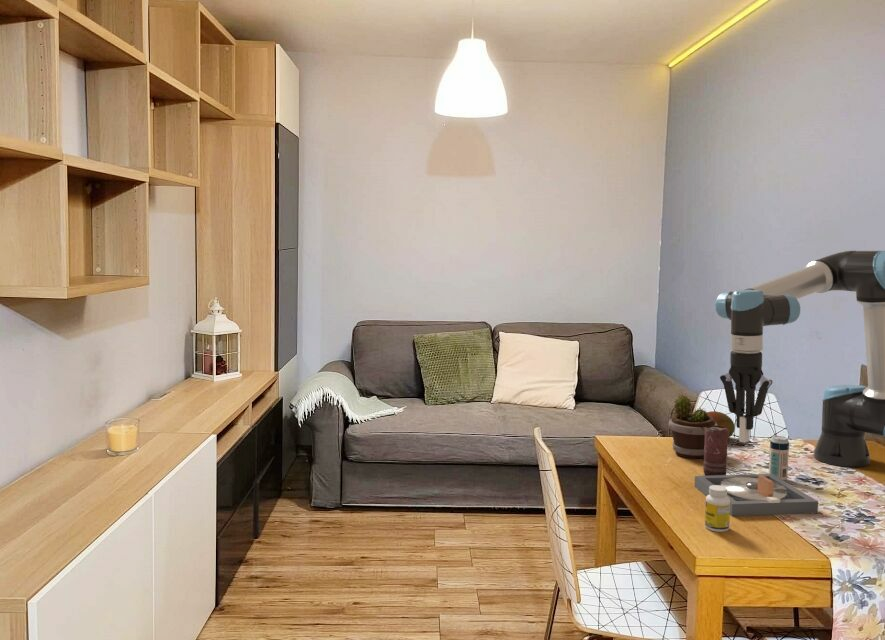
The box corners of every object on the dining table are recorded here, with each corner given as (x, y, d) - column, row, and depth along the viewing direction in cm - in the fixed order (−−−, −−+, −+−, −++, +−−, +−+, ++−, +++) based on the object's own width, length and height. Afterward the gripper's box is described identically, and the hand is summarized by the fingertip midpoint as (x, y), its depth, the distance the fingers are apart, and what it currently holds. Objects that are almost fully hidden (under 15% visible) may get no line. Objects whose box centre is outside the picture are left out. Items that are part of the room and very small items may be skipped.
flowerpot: (721, 451, 238) (723, 390, 236) (710, 464, 225) (712, 399, 223) (675, 445, 246) (677, 385, 243) (661, 456, 233) (663, 393, 231)
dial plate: (771, 484, 206) (772, 470, 206) (817, 513, 184) (818, 498, 184) (694, 486, 205) (694, 473, 204) (731, 516, 183) (732, 501, 182)
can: (728, 479, 211) (730, 430, 209) (705, 477, 212) (706, 429, 210) (725, 472, 217) (727, 425, 215) (702, 471, 218) (703, 424, 216)
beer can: (787, 477, 212) (789, 436, 210) (787, 482, 207) (789, 440, 206) (768, 475, 214) (770, 434, 212) (768, 480, 209) (770, 438, 208)
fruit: (691, 440, 251) (692, 411, 250) (705, 433, 261) (706, 405, 260) (726, 446, 244) (727, 416, 243) (739, 438, 253) (740, 410, 252)
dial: (709, 485, 201) (710, 464, 201) (764, 483, 203) (765, 461, 203) (740, 506, 185) (741, 483, 185) (800, 503, 188) (801, 480, 187)
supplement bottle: (700, 524, 178) (702, 484, 177) (722, 523, 178) (724, 483, 177) (710, 533, 172) (712, 491, 171) (733, 532, 173) (734, 491, 172)
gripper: (714, 350, 192) (713, 439, 195) (765, 355, 183) (762, 449, 185) (728, 346, 197) (727, 433, 200) (778, 351, 188) (776, 442, 190)
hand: (744, 440), depth 193 cm, fingers closed
